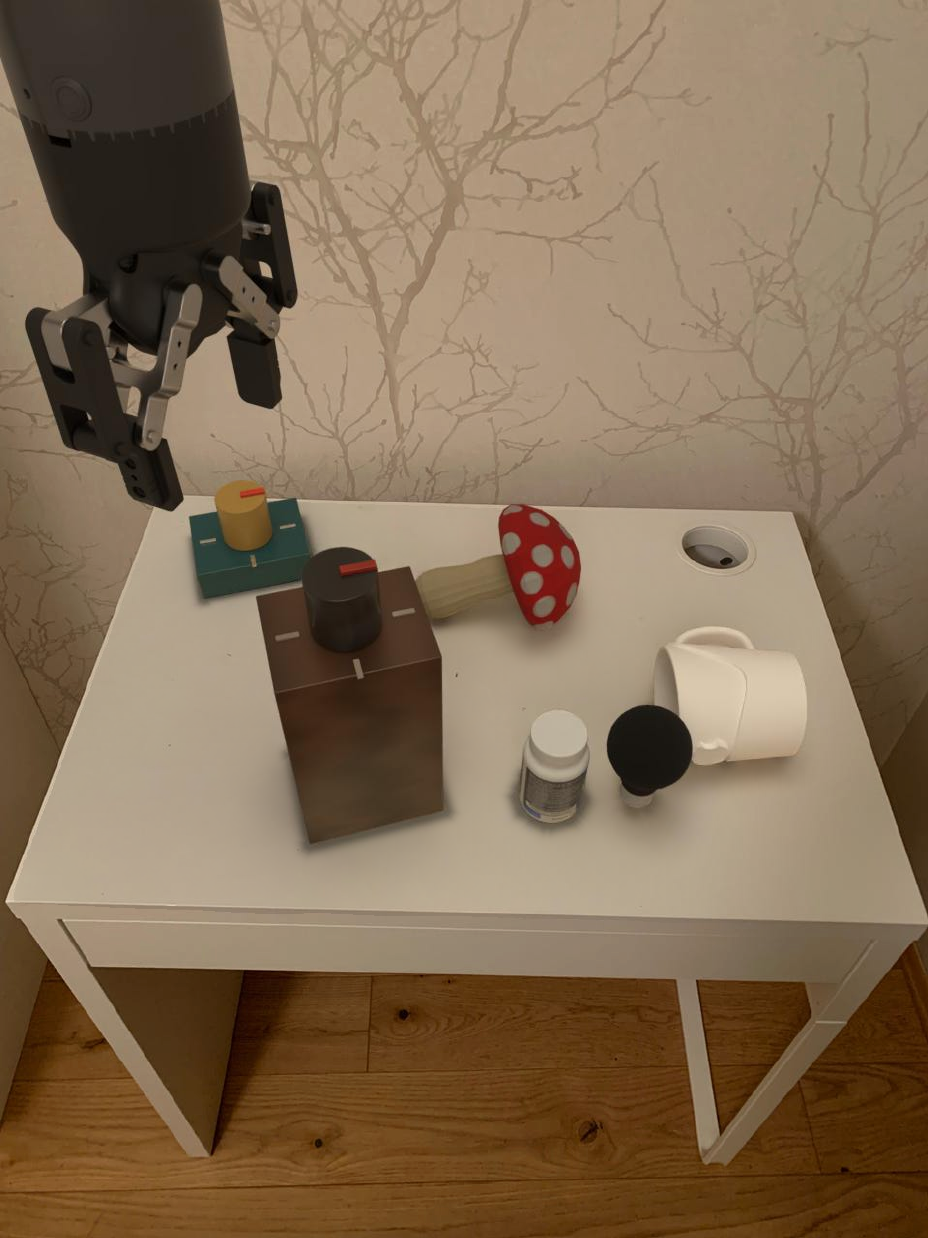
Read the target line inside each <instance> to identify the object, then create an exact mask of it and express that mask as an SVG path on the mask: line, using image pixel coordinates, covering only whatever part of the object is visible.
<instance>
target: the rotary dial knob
mask: <svg viewBox="0 0 928 1238" xmlns="http://www.w3.org/2000/svg"><path fill="white" fill-rule="evenodd" d="M378 572H379V568H378V564H377V561H376V559H375V558H374V559H373V558H372V557H371V556H370V555H369V554H368V553H366V552H365V551H363V550H361V549H359V548H354V547H350V546H336V547H331V548H327V549H324V550H321V551H319V552H318V553H315V554H313V556H311V558H310V559H309V560H308V561H307V563H306V564H305V566H304V567H303V570H302V573H301V580H300V581H301V585H302V586H301V587H303V592H304V597H305V603H306V609H307V615H308V620H309V626H310V632H311V635H312V637H313V638H314V640H315V641H316V642H317V643H318V644H319V645H321V646H322V647H324V648H326V649H328V650H331V651H336V652H351V651H356V650H359V649H362V648H364V647H366V646H368V645H369V644H371V643H372V642H373V641H374V640H375V639H376V638H377V636H378V635H379V633H380V631H381V628H382V614H381V602H380V589H379V577H378Z"/></svg>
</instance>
